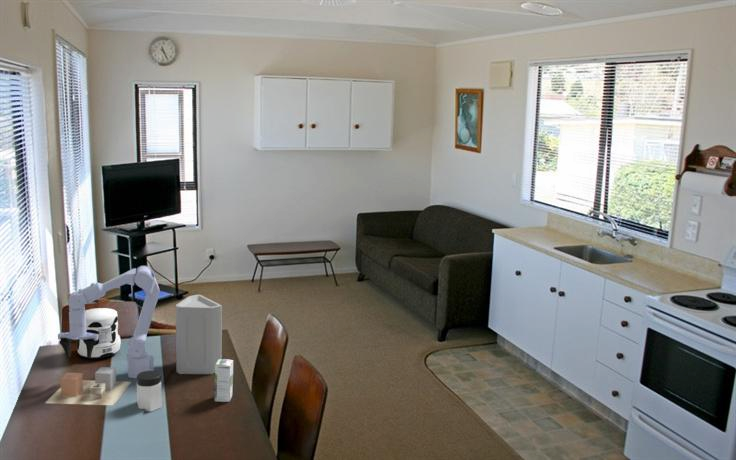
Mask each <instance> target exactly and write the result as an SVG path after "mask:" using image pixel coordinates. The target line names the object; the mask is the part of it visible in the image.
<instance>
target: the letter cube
mask: <svg viewBox="0 0 736 460" xmlns="http://www.w3.org/2000/svg"><path fill="white" fill-rule="evenodd" d="M105 394H106V393H105V383H94V384H93V385H92V386H91V387H90V398H101V399H102V397H103V396H104V395H105Z"/></svg>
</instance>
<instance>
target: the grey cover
mask: <svg viewBox="0 0 736 460" xmlns="http://www.w3.org/2000/svg"><path fill="white" fill-rule="evenodd" d="M116 379H117V369H116V367H110V366H109V367H108V366H107V367H106V366H101V367H99V368H98V369H97V370H96V371H95V373H94V381H95V383H105V390H111V389H112V388H113V387H114V386H115V384H116V381H117V380H116Z"/></svg>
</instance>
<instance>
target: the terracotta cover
mask: <svg viewBox="0 0 736 460" xmlns="http://www.w3.org/2000/svg"><path fill="white" fill-rule="evenodd" d="M83 375H84V374H83V372H82V373H81V372H66V373H65V374H64V375H63V376H62V377H60V387H61V396H78V395H79V394H80V393H81V391H82V390H83V380H84V378H83Z"/></svg>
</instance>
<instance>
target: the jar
mask: <svg viewBox="0 0 736 460" xmlns="http://www.w3.org/2000/svg"><path fill="white" fill-rule="evenodd" d="M161 380H162V374H161V372H159V371H157V370H154V371H144V372H141V373H139V374H138V375H137V378H136V404H137V408H138V409H141V410H142V409H143V410H144V412H153V411H156V410H158V409H160V408H162V405H163V403H162V397H163V396H162V381H161Z"/></svg>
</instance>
